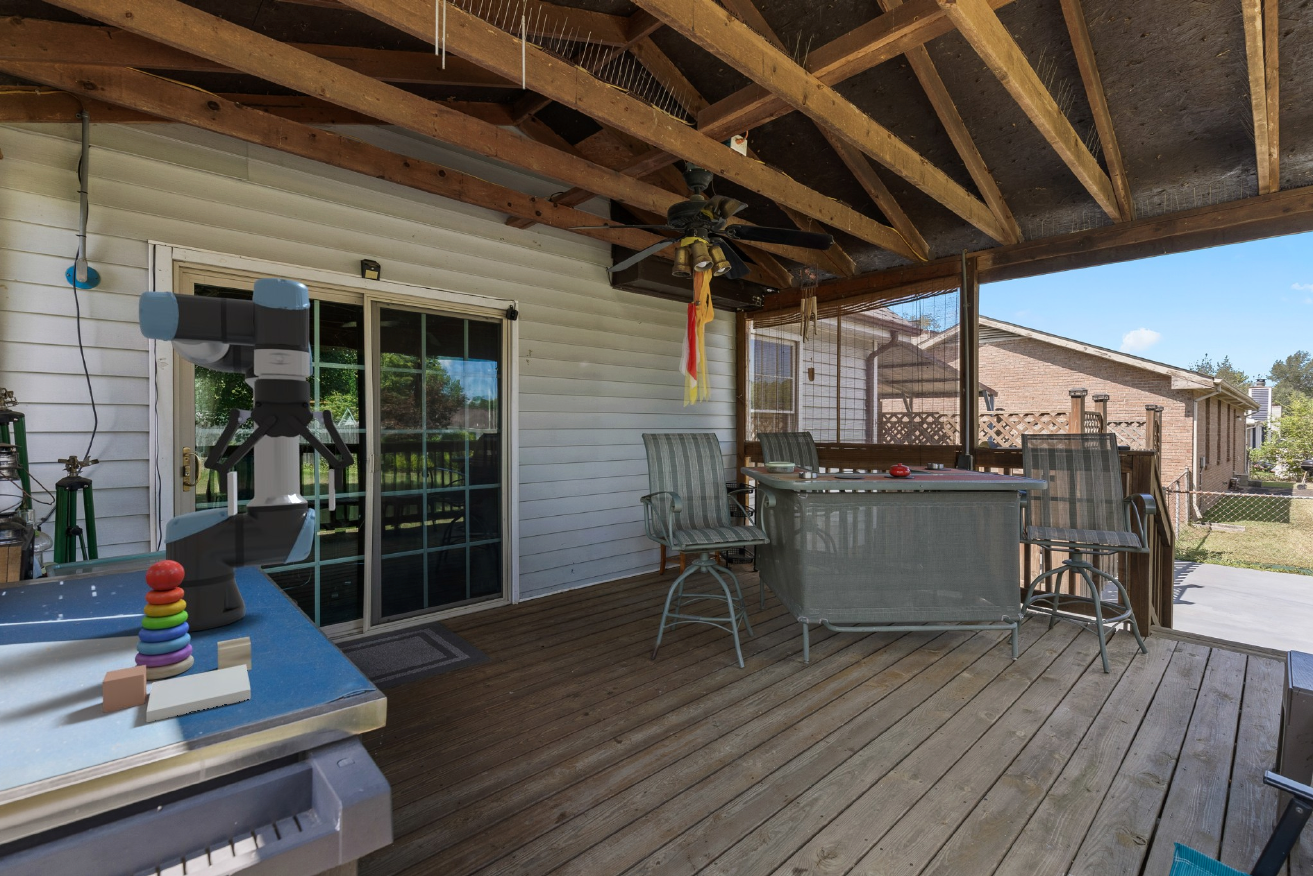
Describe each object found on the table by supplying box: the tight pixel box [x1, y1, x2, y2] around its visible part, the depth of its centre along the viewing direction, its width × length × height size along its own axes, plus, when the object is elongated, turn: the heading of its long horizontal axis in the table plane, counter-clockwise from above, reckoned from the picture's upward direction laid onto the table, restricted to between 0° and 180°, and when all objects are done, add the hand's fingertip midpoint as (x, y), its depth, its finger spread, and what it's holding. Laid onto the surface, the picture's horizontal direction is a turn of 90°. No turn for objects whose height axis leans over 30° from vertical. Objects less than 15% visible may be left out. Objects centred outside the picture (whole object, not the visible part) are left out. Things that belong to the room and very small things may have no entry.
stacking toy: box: [134, 559, 195, 681], centre depth 101 cm, size 8×8×19 cm
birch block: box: [217, 636, 252, 671], centre depth 102 cm, size 4×4×4 cm
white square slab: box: [146, 664, 252, 723], centre depth 92 cm, size 12×12×2 cm
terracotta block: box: [102, 665, 147, 713], centre depth 90 cm, size 4×4×4 cm
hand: (283, 512), depth 96 cm, fingers open, 13 cm apart
